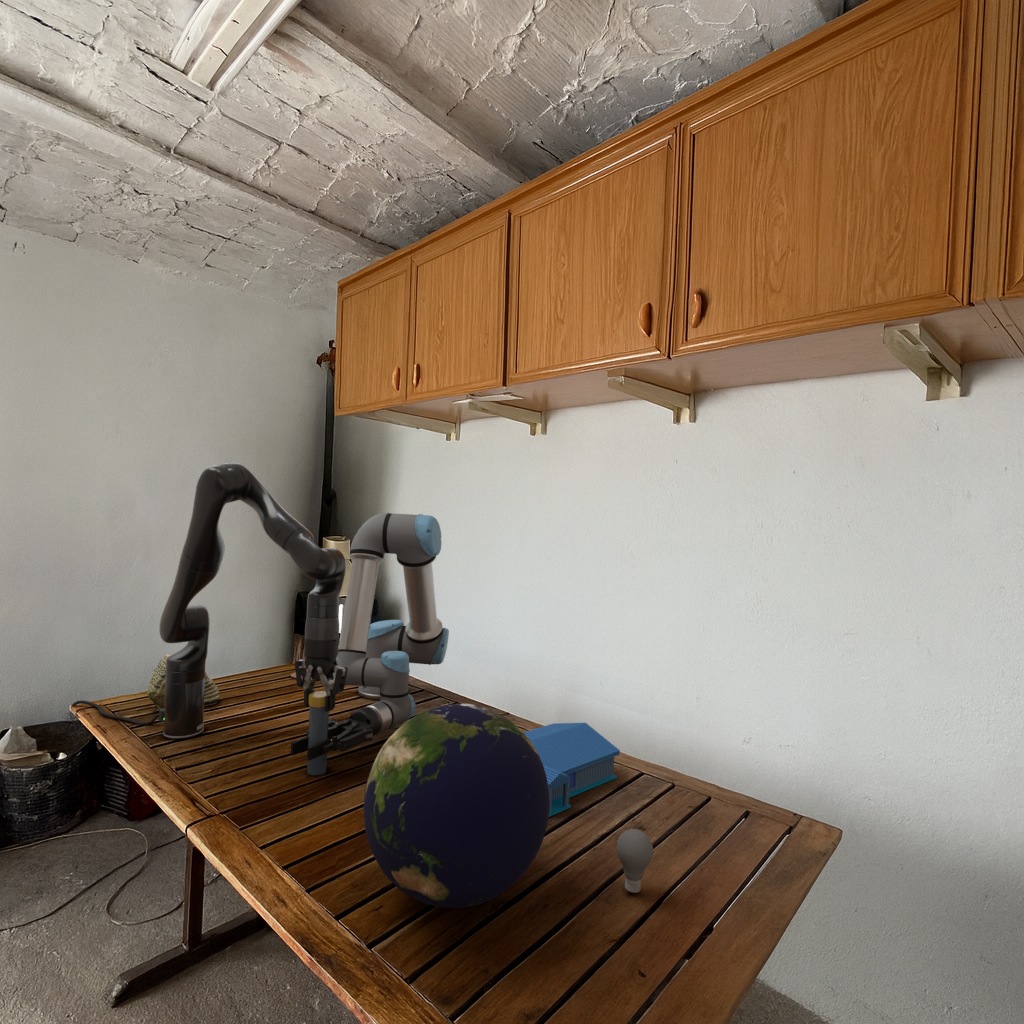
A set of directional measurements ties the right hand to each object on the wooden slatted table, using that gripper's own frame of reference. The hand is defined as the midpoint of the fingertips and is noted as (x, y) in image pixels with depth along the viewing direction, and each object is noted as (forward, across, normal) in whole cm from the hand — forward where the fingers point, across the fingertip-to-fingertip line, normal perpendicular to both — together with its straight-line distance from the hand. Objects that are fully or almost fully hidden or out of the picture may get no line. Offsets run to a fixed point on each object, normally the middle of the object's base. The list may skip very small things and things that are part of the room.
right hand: (300, 751), depth 141 cm
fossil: (-16, +63, -6) cm, 66 cm away
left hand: (-5, 0, +8) cm, 10 cm away
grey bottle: (-5, 0, -6) cm, 8 cm away
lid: (-5, 0, +11) cm, 12 cm away
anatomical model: (-60, +57, -6) cm, 83 cm away
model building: (-25, -45, -6) cm, 52 cm away
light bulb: (0, -76, -6) cm, 77 cm away
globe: (+16, -51, -6) cm, 54 cm away
